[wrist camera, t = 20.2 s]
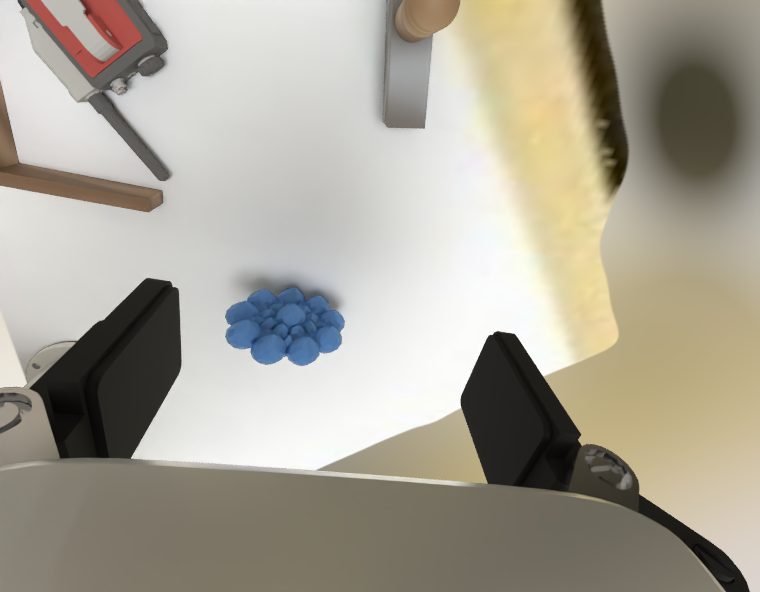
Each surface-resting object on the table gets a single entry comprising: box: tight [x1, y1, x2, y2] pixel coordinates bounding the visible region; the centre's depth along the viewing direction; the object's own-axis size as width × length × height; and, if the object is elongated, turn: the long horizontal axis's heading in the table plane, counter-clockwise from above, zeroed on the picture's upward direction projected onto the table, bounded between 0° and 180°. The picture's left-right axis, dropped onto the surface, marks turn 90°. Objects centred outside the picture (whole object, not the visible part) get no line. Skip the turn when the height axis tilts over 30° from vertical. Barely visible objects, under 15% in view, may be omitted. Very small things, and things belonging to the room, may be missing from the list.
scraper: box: [383, 0, 460, 129], centre depth 25 cm, size 14×3×13 cm, turn 178°
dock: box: [0, 83, 163, 212], centre depth 28 cm, size 26×14×3 cm, turn 167°
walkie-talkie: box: [18, 0, 169, 181], centre depth 28 cm, size 9×4×20 cm
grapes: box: [225, 288, 345, 366], centre depth 38 cm, size 12×7×12 cm, turn 71°
